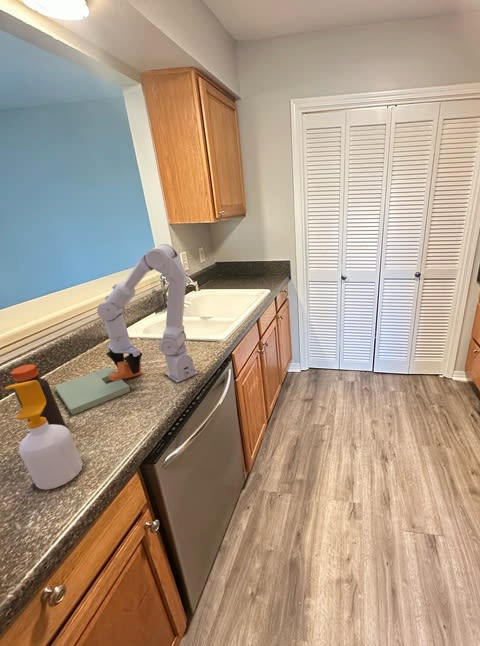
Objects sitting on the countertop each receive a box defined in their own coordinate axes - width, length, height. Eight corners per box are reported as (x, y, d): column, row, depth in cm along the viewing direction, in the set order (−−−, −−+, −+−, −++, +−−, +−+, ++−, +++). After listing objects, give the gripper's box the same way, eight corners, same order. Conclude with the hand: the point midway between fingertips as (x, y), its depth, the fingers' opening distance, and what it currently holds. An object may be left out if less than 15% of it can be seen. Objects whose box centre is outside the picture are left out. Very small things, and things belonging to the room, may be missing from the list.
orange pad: (141, 374, 115) (140, 361, 114) (114, 381, 107) (113, 367, 106) (134, 372, 117) (133, 358, 116) (107, 378, 109) (107, 364, 108)
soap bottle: (30, 496, 69) (-21, 399, 59) (42, 467, 76) (-1, 377, 67) (79, 481, 72) (38, 387, 62) (86, 454, 79) (51, 367, 70)
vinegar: (49, 425, 91) (21, 362, 83) (72, 424, 91) (47, 361, 83) (30, 442, 85) (-2, 376, 77) (55, 441, 84) (25, 375, 76)
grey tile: (130, 391, 105) (128, 385, 105) (72, 415, 95) (70, 409, 94) (109, 371, 118) (108, 367, 118) (56, 391, 108) (54, 385, 107)
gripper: (143, 333, 108) (152, 369, 114) (115, 328, 114) (125, 361, 120) (124, 342, 102) (135, 378, 108) (96, 335, 109) (107, 370, 114)
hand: (129, 370), depth 113 cm, fingers open, 7 cm apart
